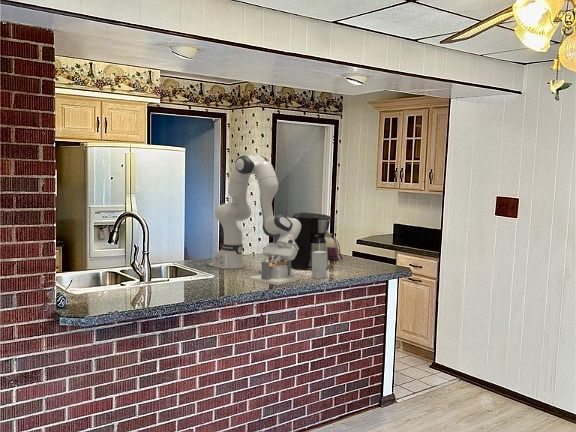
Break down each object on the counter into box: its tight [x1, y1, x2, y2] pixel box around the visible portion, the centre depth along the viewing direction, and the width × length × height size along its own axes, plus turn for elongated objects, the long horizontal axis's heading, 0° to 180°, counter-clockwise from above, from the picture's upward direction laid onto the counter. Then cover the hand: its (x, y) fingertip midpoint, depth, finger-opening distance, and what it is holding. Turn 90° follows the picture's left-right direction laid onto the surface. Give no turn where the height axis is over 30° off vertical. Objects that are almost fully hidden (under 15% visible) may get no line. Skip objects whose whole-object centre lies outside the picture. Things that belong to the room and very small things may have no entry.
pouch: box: [324, 231, 344, 261], centre depth 370 cm, size 25×8×19 cm, turn 57°
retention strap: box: [269, 261, 287, 267], centre depth 299 cm, size 18×3×1 cm, turn 144°
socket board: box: [248, 259, 303, 286], centre depth 299 cm, size 20×22×11 cm
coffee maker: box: [277, 212, 332, 271], centre depth 335 cm, size 23×32×34 cm
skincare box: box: [311, 251, 328, 280], centre depth 307 cm, size 8×6×15 cm
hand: (273, 263), depth 297 cm, fingers closed
